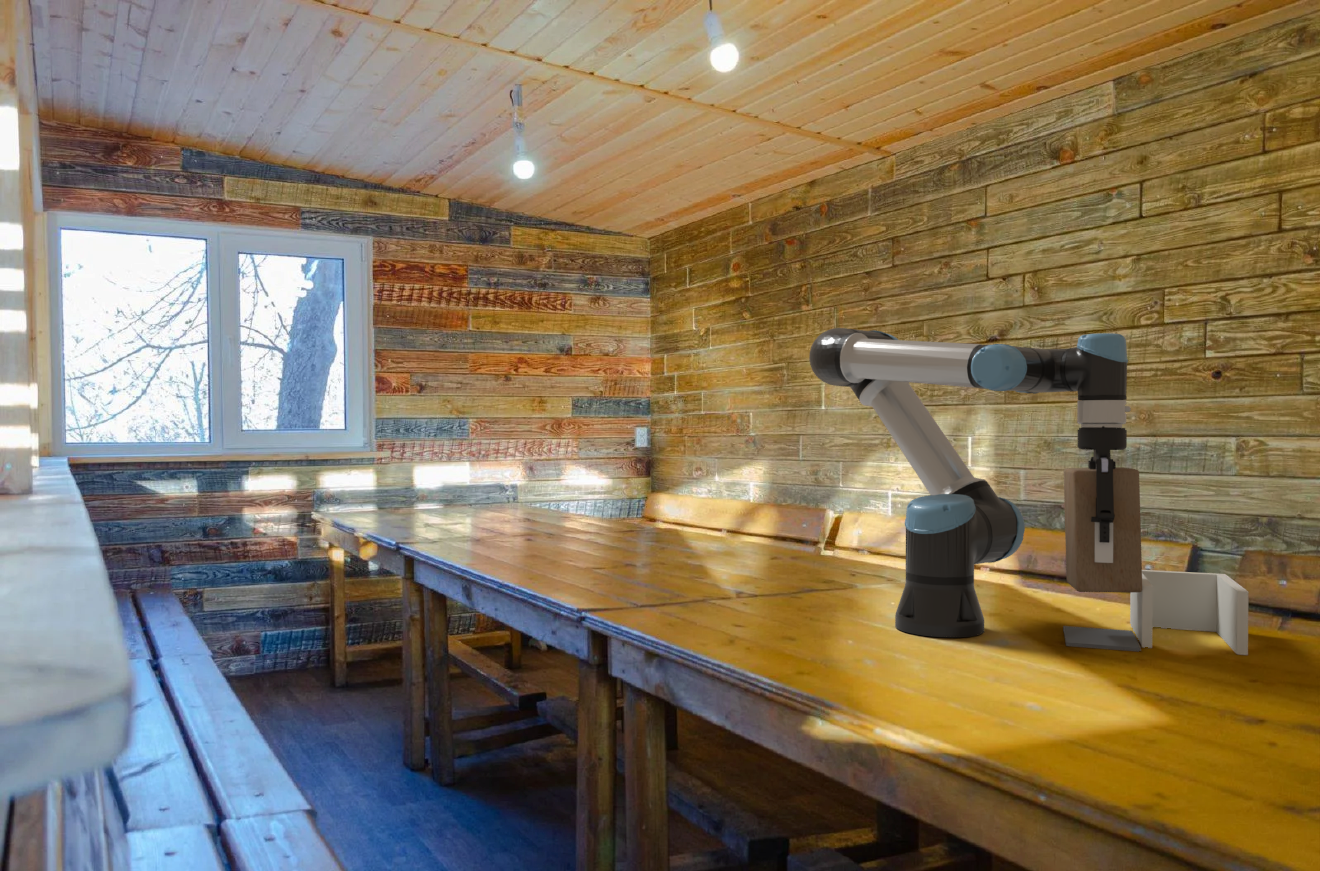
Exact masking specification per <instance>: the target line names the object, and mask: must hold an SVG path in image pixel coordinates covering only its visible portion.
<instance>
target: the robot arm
mask: <svg viewBox="0 0 1320 871" xmlns="http://www.w3.org/2000/svg"><path fill="white" fill-rule="evenodd" d="M1127 349H1128V348H1127V340H1126V337H1125V336H1124V335H1123V334H1120V333H1113V332H1109V333H1107V332H1106V333H1105V332H1103V333H1101V332H1100V333H1099V332H1098V333H1097V332H1096V333H1088V334H1082V335H1080V336H1079V337H1078V338H1077V344H1076V346H1075V347H1069V348H1051V349H1049V348H1037V347H1026V346H1023V347H1022V346H1015V345H1011V344H1003V343H995V344H981V343H962V342H945V341H942V342H941V341H926V340H925V341H920V340H905V339H903V340H901V339H898V338H897V337H896V336H894V335H892V334H890V333H886V332H883V331H879V330H863V329H854V328H846V327H835V328H830V329H827V330H826V331H823V332H822V333H820V334H819V335H818V336H817V337H816V339H814V341H813V342H812V345H811V346H810V351H809V354H808V355H809V359H808V360H809V365H810V367H811V368H810V369H812V370H811V371H812V372H813V373H814V375H815V376H816V377H817V378H818V379H819V380H820V381H821V382H822V383H825V384H828V385H831V386H834V387H835V386H836V387H844V388H845V387H848V388H850V389H851V390H852V392H853V394H854V395H855V396H856V398H857V399H858V400H859V402H860V404H861V405H863V406H865V407H872V409H873V410H874V411H875V413H876V415H877V416H878V417H879V419H880V421H881V422H882V424H883V425H884V426H885V428H886V430H887V431H888V433H889V434H890V436H891V437H892V439H893V440H894V442H895V443H896V444H897V447H898V448H899V449H900V450H901V452H902V454H903V455H904V457H905V459H906V460H907V462H908V463H909V465H910V466H911V468H912V469H913V471H914V472H915V474H916V475H917V477H918V478H919V480H920V481H921V483H922V484H923V486H924V487H925V489H926V490H927V492H928V494H929V495H923V496H919V497H917V498H914V499H912V500H910V502H908V503H907V506H906V514H905V518H904V520H905V521H904V526H905V583H904V587H903V590H902V594H901V597H900V598H899V599H900V600H899V602H898V606H897V609H896V611H895V615H894V616H895V617H894V618H895V619H894V624H895V625H894V626H895V628H896V629H897V630H900V631H901V632H904V633H908V634H911V635H918V636H924V637H935V638H968V637H969V638H970V637H976V636H980V635H983V633H985V618H984V614H983V612H982V608H981V605H980V601H979V598H978V595H977V593H976V589H975V565H979V564H986V563H988V564H991V563H997V562H1000V561H1002V560H1004V559H1007V558H1009V557H1011V556H1013V554H1015V553H1016V552H1017V550H1019V548H1020V547H1021V544H1022V543H1023V540H1024V535H1025V529H1026V526H1025V521H1024V520H1025V519H1024V517H1023V514H1022V511H1020V509H1019V507H1018V506H1017V505H1016V504H1015V503H1013V502H1012V501H1011V500H1009V499H1006V498H1003V497H1000V496H998V495H997V494H996V492H995V490H994V489H993V488H992V486H991V485H990V484H989V482H988V481H987V480H986V479H984V478H978V477H975V476H974V475H973V473H972V472H971V471H970V469H969V468H968V466H967V465H966V463H965V462H964V461H963V459H962V458H961V457H960V455H959V454H958V452H957V450H956V448H954V446H953V444H952V443H951V442H950V440H949V439H948V438H947V435H945V432H943V430H942V428H940V426H939V424H938V423H937V422H936V420H935V419H934V418H933V416H932V415H931V413H930V411H929V410H928V409H927V407H926V406H925V405H924V402H922V400H921V399H920V397H919V396H918V395H917V393H916V392H915V390H914V388H913V387H912V385H911V384H910V383H913V384H914V383H915V384H927V385H939V386H951V387H961V388H963V387H964V388H972V389H973V388H974V389H983V390H990V391H992V392H993V391H994V392H995V391H996V392H1007V391H1008V392H1012V391H1013V392H1015V393H1022V394H1025V393H1026V394H1033V395H1034V394H1035V395H1036V394H1039V393H1041V394H1042V393H1062V392H1064V393H1065V392H1073V393H1074V392H1077V405H1076V406H1077V412H1076V413H1077V414H1076V416H1077V417H1076V419H1077V420H1076V421H1077V422H1076V423H1077V424H1078V425H1080V427H1079V428H1078V429H1077V448H1078V450H1083V451H1087V450H1088V451H1093V455H1092V456H1091V458H1090V460H1088V464H1087V466H1088V467H1087V468H1089V469H1096V491H1097V498H1096V517H1091V522H1095V562H1100V563H1113V521H1114V517H1115V514H1114V496H1113V469H1115V468H1116V467H1117V466H1116V461H1115V460H1114V459H1113V458H1111V451H1124V450H1125V449H1127V447H1128V446H1127V444H1128V442H1127V441H1128V440H1127V435H1128V434H1127V432H1128V430H1127V429H1126V427H1123V425H1125V424H1126V423H1127V413H1128V412H1130V413H1131V408H1132V407H1131V406H1129V405H1126V404H1127V399H1128V398H1127V383H1128V382H1127V381H1128V379H1127V378H1128V363H1129V362H1128V361H1129V358H1128V352H1127ZM1102 472H1103V473H1102ZM1105 473H1106V474H1105Z"/></svg>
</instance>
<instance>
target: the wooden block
mask: <svg viewBox="0 0 1320 871" xmlns="http://www.w3.org/2000/svg"><path fill="white" fill-rule="evenodd" d="M1102 473H1103V472H1102ZM1105 474H1106V473H1105ZM1140 487H1141V486H1140V471H1139V469H1136V468H1131V467H1130V468H1129V467H1126V466H1125V467H1124V466H1116V468H1115V469H1113V496H1114V514H1115V517H1114V521H1113V563H1100V562H1095V522H1091V517H1096V498H1097V491H1096V469H1089V468H1088V467H1066V468H1064V469H1063V496H1064V498H1063V502H1064V503H1063V504H1064V530H1065V531H1064V533H1065V534H1064V535H1065V539H1064V540H1065V565H1066V566H1065V568H1066V572H1065V574H1066V582H1067V584H1068V585H1069V586H1070V587H1072V588H1073V589H1074V590H1076V591H1077V592H1079V593H1130V592H1142V570H1143V565H1142V563H1143V562H1142V559H1143V558H1142V531H1141V530H1142V529H1141V522H1142V521H1141V494H1140V493H1141V490H1140Z"/></svg>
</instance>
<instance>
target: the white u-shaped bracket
mask: <svg viewBox="0 0 1320 871" xmlns="http://www.w3.org/2000/svg"><path fill="white" fill-rule="evenodd" d="M1129 593H1130V596H1129V597H1130V603H1129V604H1130V608H1129V609H1130V611H1129V612H1130V613H1129V618H1130V619H1129V625H1130V624H1131V625H1130V627H1131V629H1132V628H1133V629H1132V631H1133V633H1134V632H1135V633H1134V635H1135V634H1136V635H1135V637H1136V639H1137V638H1138V639H1137V641H1138V640H1139V641H1138V643H1139V645H1140V647H1141V648H1145V647H1148V648H1147V649H1153V627H1161V628H1160V629H1167V628H1171V630H1185V631H1198V632H1199V631H1200V632H1213V633H1215V632H1216V633H1217V634H1218V636H1219V637H1220V638H1221V639H1223V641H1224V642H1225V643H1226V644H1227V645H1228V646H1229V648H1230V649H1231V650H1232V651H1233V652H1234V653H1235V654H1236V655H1241V656H1249V591H1248V590H1247V589H1246V588H1244V587H1243V586H1242V585H1240V584H1239V583H1238V582H1237V581H1235V580H1234V579H1233V578H1232V577H1230V576H1228V575H1227V574H1226V573H1214V572H1213V573H1211V572H1209V573H1208V572H1188V571H1175V570H1174V571H1173V570H1172V571H1170V570H1152V569H1150V570H1149V569H1147V570H1146V569H1142V592H1129Z"/></svg>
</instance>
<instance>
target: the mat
mask: <svg viewBox="0 0 1320 871" xmlns="http://www.w3.org/2000/svg"><path fill="white" fill-rule="evenodd" d="M1062 628H1063V636H1064V641H1065V646H1066V647H1074V648H1075V647H1076V648H1087V649H1088V648H1089V649H1102V650H1115V651H1125V652H1126V651H1127V652H1139V651H1141V652H1142V649H1141V648H1142V646H1141V644H1140V642H1139V641H1138V639H1137V637H1136V635H1135V633H1134V631H1133V630H1125V629H1114V628H1113V629H1112V628H1100V627H1099V628H1098V627H1086V626H1085V627H1084V626H1068V625H1063V626H1062Z"/></svg>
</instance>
